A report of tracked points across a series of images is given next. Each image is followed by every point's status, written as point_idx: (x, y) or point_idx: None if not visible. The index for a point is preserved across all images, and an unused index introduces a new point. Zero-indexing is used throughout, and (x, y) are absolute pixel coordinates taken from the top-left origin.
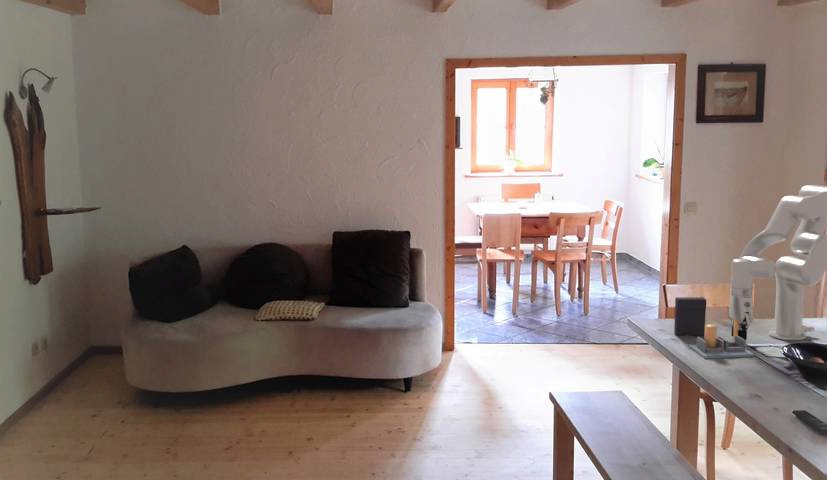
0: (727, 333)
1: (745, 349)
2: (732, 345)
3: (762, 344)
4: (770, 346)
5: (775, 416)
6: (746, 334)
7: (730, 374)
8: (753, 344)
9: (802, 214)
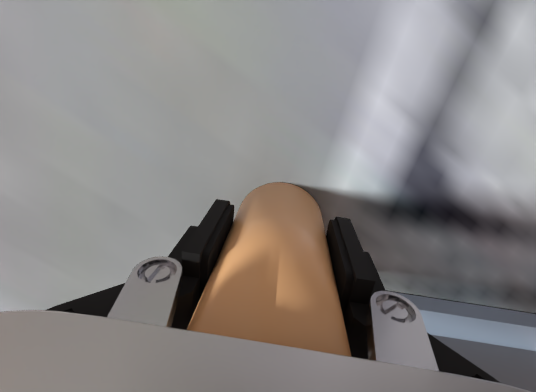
0: (37, 158)
1: (508, 330)
2: None
3: (401, 61)
4: (492, 21)
5: None
6: (360, 248)
7: None
8: (367, 146)
9: None
